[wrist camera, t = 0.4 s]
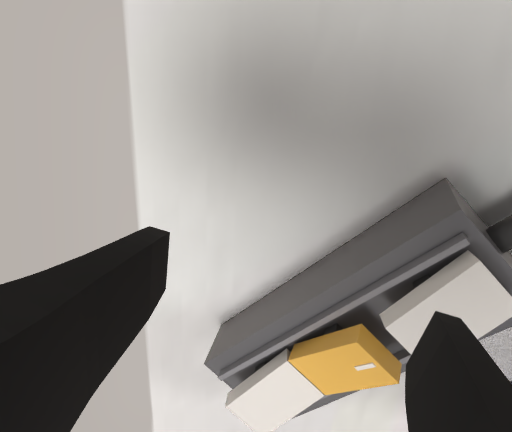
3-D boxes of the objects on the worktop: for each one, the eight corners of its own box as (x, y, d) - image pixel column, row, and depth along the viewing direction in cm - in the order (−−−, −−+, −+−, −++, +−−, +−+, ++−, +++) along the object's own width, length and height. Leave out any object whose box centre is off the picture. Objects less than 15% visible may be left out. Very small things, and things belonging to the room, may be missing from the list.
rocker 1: (286, 348, 20) (287, 361, 19) (322, 381, 21) (324, 395, 20) (227, 392, 21) (225, 407, 20) (263, 423, 22) (262, 438, 21)
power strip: (562, 100, 15) (614, 125, 12) (641, 208, 16) (708, 256, 13) (221, 325, 25) (200, 370, 22) (284, 382, 26) (273, 433, 23)
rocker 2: (468, 249, 15) (480, 260, 15) (508, 296, 16) (522, 309, 15) (379, 314, 17) (385, 328, 16) (419, 355, 17) (428, 371, 16)
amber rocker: (361, 323, 17) (356, 343, 16) (401, 363, 18) (398, 384, 17) (294, 344, 20) (287, 361, 19) (330, 377, 21) (324, 396, 20)
